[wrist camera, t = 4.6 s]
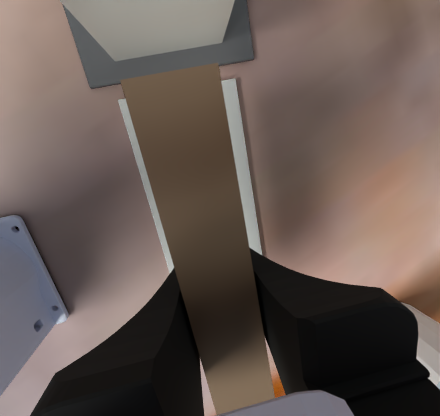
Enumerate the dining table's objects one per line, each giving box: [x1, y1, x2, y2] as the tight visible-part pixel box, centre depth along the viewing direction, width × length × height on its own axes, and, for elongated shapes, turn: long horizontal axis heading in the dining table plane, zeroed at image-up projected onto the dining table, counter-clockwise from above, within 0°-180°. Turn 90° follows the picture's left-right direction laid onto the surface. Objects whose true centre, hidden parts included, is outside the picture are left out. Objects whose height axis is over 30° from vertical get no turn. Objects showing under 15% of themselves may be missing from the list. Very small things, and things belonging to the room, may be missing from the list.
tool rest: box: [118, 78, 262, 273], centre depth 18 cm, size 20×8×1 cm, turn 11°
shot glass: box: [401, 302, 440, 389], centre depth 21 cm, size 7×7×7 cm
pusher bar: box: [120, 63, 275, 415], centre depth 10 cm, size 16×2×5 cm, turn 11°
